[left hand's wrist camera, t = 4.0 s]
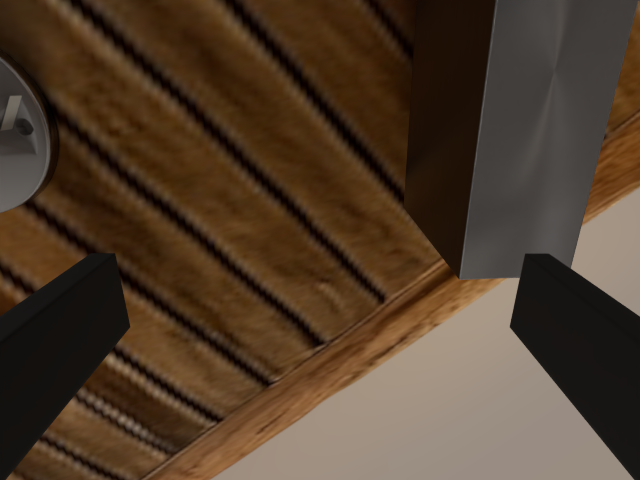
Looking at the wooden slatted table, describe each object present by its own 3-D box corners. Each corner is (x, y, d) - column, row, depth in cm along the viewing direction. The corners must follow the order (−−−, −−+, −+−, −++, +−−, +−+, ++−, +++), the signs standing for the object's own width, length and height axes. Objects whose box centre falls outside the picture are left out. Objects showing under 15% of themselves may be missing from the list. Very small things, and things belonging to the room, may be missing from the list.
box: (473, 205, 32) (569, 276, 20) (403, 208, 32) (459, 280, 20) (514, -97, 24) (706, -264, 13) (422, -96, 24) (530, -262, 13)
